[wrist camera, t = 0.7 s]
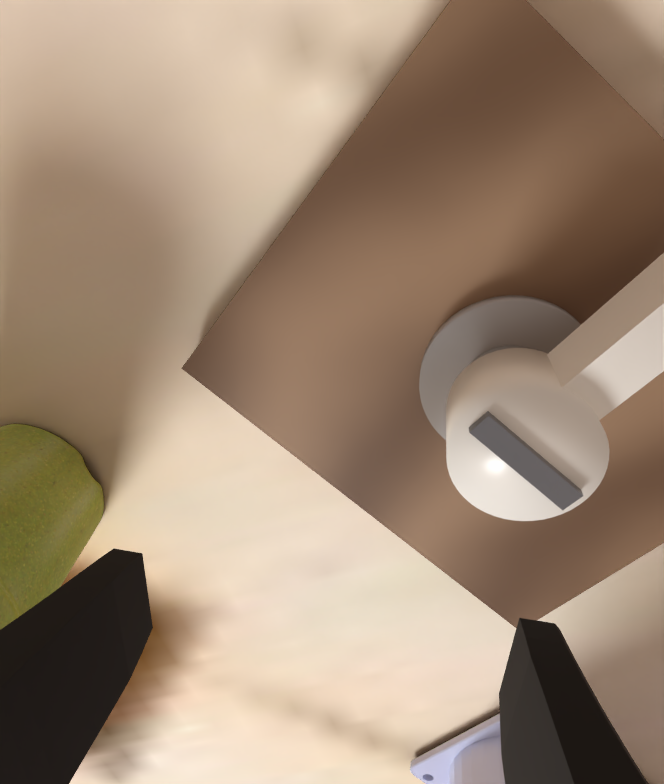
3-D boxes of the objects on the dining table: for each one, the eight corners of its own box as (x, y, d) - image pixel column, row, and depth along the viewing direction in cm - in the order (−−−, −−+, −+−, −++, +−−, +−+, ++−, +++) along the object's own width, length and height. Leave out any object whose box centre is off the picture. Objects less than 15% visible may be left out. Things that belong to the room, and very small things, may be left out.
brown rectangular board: (882, 373, 16) (968, 422, 13) (516, 606, 22) (525, 671, 20) (480, -31, 14) (488, -68, 11) (195, 355, 20) (157, 391, 17)
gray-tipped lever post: (863, 217, 12) (971, 241, 9) (510, 487, 16) (523, 551, 14) (751, 99, 11) (835, 92, 9) (419, 411, 16) (414, 463, 13)
